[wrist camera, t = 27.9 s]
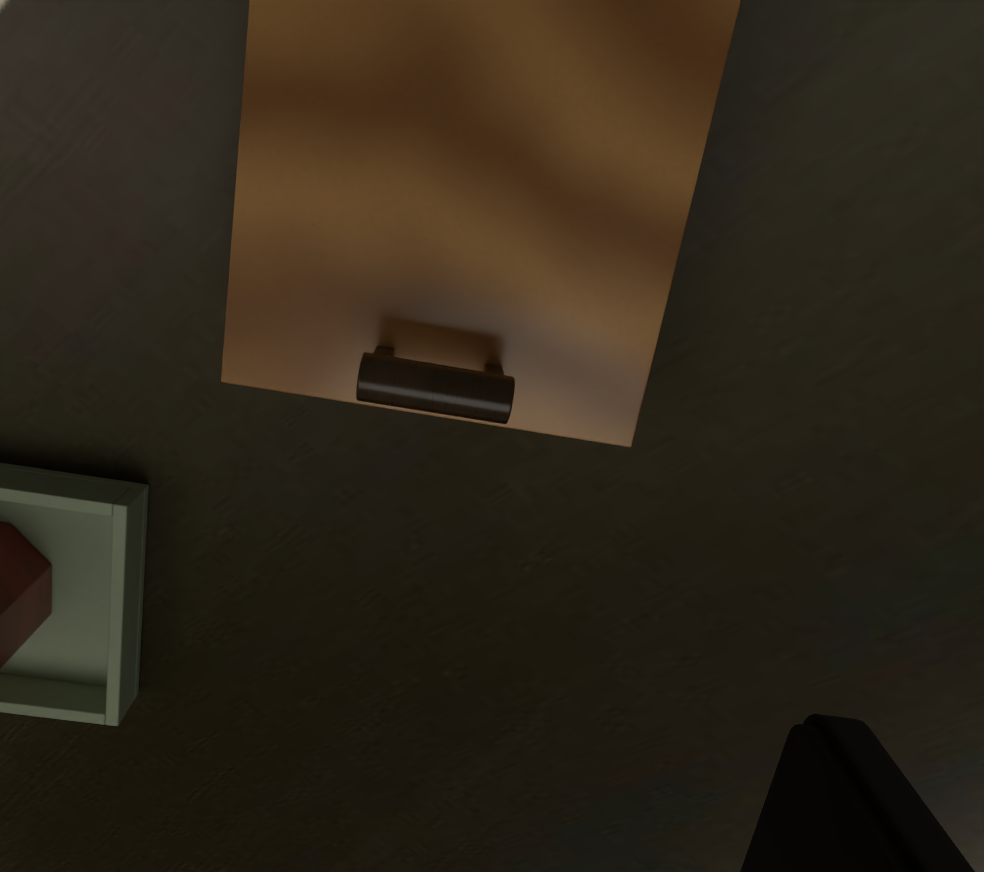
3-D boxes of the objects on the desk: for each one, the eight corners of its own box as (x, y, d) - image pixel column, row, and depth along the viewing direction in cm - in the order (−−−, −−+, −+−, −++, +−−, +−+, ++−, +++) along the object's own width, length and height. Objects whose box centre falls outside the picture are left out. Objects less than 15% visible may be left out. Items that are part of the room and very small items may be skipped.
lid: (627, 441, 32) (656, 489, 27) (226, 376, 30) (182, 415, 25) (756, -90, 26) (822, -148, 21) (271, -199, 25) (225, -287, 20)
